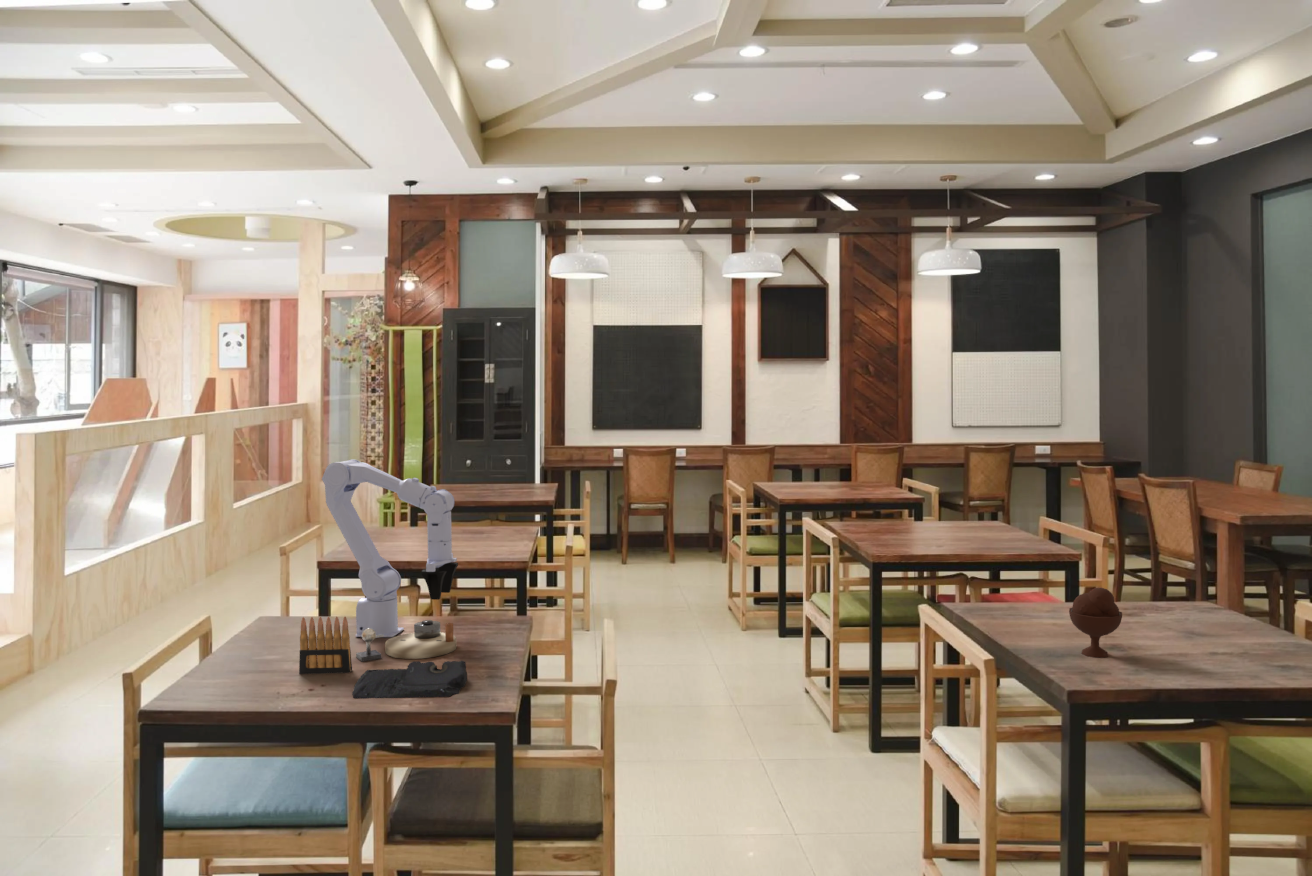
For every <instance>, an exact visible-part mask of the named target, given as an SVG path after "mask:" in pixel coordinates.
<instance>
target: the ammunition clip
mask: <svg viewBox="0 0 1312 876" xmlns="http://www.w3.org/2000/svg"><path fill="white" fill-rule="evenodd" d="M305 618H306V617H304V616H303V617H302V618H301V621H300V636H299V648H300V650H299V662H298V663H299V666H298V668H299V669H298V671H299V672H298V674H299V675H309V674H312V675H313V674H314V675H315V674H316V675H319V674H322V675H323V674H350V673H351V672H352V671H353V663H352V652H351V651H352V650H351V646H350V643H351V641H350V637H351V636H350V632H349V630H350V629H349V624H348V623H349V622H348V618H347V617H346V616H344V617H343V619H342V620H343V621H342V627H341V625H340V624H341V623H340V620H339V617H338V616H335V619H334V624H333V627H332V621H331V618H330V616H328V617H327V618H326V623H325V628H324V622H323V618H322V617H321V616H319V617H318V622H317V631H316V625H315V620H314V617H313V616H311V617H310V619H309V624H308V626H307V621H306V619H305ZM307 627H308V628H309V629H307ZM332 628H333V629H332ZM341 628H342V630H341ZM324 629H325V630H324ZM316 632H317V634H316Z"/></svg>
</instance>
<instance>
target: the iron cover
mask: <svg viewBox="0 0 1312 876" xmlns="http://www.w3.org/2000/svg"><path fill="white" fill-rule="evenodd" d="M413 629H414V630H413V631H414V632H413V633H414V637H415V638H419V639H430V638H436V637H439V636H440V635H441V622H440V621H436V620H432V619H425V620H424V619H423V620H422V621H418V622H415V623H414V624H413Z"/></svg>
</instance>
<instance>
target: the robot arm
mask: <svg viewBox="0 0 1312 876" xmlns="http://www.w3.org/2000/svg"><path fill="white" fill-rule="evenodd" d="M321 480H322V482H323V484H324V492H325V493H324V494H325V504H326V506H327V509H328V511H330V514H331V515H332V518H333V519H334V521H335V523H336V525H337V527H338V529H339V530H340V532H341V534H342V535H343V538H344V540H345V541H346V544H347V545H348V547H349V549H350V551H351V552H352V554H353V556H354V558H355V560H356V562H357V564H358V566H359V571H358V578H359V580H360V583H361V591H362V593H363V595H364V596H365V597H361V598H359V599H358V601H357V603H356V607H355V620H356V622H355V623H356V625H355V626H356V627H355V628H356V633H355V638H356V637H357V638H359V637H360V638H362V633H363V631H364V630H365V629H367V628H371V629H373V630H374V631H375V632H376V635H380V634H383V635H384V637H383V638H393V637H396V635H398V634H399V633H401V632H402V631H404V629H405V628H404V627H403V626H402V627H399V624H398V623H399V619H398V617H399V616H398V613H399V612H398V593H397V591H398V590H399V588H400V587H401V584H402V577H401V575H400V573H399V571H397V569H395V568H393V566H392V565H391V564H390V561H389V560H387V559H386V558H384V557H382V556H381V554H380V553H379V551H378V549H377V547H376V545H375V543H374V541H373V540H372V538H371V536H370V534H369V532H368V530H367V528H366V526H365V525H364V523H363V521H362V519H361V518H360V516H359V514H358V512H357V509H356V508H355V507H354V505H353V503H352V498H353V496H354V493H355V491H356V490H357V488H358V487H359V486H360V484H361V483H368V484H371V485H374V486H377V487H380V488H382V489H385V490H389V491H391V492H394V493H396V495H397V497H398V499H399V500H400V501H403V502H404V503H407V504H409V505H412V506H414V507H417V508H419V509H421V510H424V512H425V514H426V515H427V521H426V524H427V525H426V526H427V531H426V532H427V558H426V564H425V569H422V570H421V576H422V577H423V579H424V581H425V583H426V585H427V586H426V587H427V590H428V593H429V598H430V600H433V601H434V600H436V601H437V600H440V599H441V596H442V593H445V594H447V593H451V589H452V584H453V581H454V579H453V578H454V576H455V572H456V571H457V568H458V565H459V563H458V562H457V560H458V557H454V553H453V543H452V542H453V540H452V539H453V536H452V535H453V534H452V533H453V531H452V528H453V527H452V509H453V508H454V507H455V497H454V495H453V494H452V493H451V492H450V491H448V490H447V489H445V488H444V489H443V488H442V489H437V486H435V485H430V486H429V485H427V484H425V483H422V482H421V481H420V479H419V478H417V477H412V478H406V479H403V480H402V479H401V478H397V477H396V476H394V475H392V474H390V473H388V472H385V471H384V470H381V469H379V468H377V467H375V466H372V465H370V464H369V463H367V462H363V461H362V462H361V461H360V460H359V459H347V460H343V461H334V462H330V464H328V465H327V466H326V467H325V469H324V472H323V474H322V477H321Z"/></svg>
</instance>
